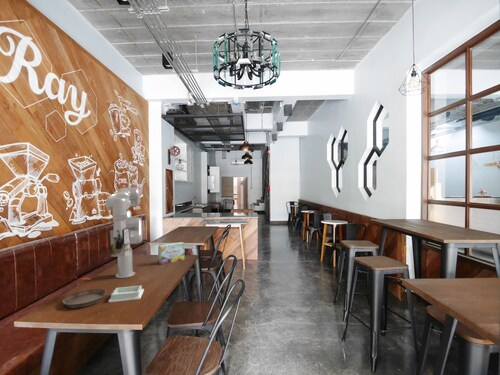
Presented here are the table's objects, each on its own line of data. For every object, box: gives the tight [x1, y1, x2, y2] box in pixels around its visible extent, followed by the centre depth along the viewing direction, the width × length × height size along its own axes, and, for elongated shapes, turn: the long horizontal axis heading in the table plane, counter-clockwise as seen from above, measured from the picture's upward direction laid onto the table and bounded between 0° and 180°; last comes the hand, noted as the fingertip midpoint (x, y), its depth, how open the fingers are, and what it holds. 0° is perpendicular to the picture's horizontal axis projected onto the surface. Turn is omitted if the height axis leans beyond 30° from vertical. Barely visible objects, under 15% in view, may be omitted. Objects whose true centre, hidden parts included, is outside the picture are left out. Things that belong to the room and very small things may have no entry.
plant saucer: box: [62, 288, 107, 309], centre depth 149 cm, size 21×21×3 cm
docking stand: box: [108, 285, 145, 303], centre depth 154 cm, size 13×16×4 cm
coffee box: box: [109, 228, 131, 258], centre depth 164 cm, size 9×6×16 cm
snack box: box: [157, 241, 185, 265], centre depth 226 cm, size 21×6×15 cm, turn 131°
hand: (120, 247), depth 164 cm, fingers closed on coffee box, 7 cm apart
